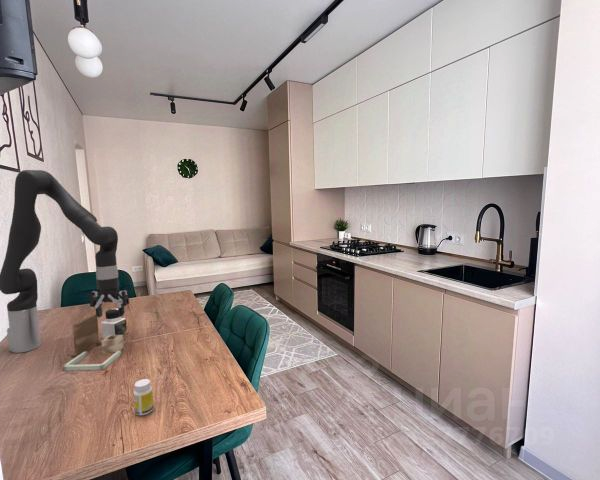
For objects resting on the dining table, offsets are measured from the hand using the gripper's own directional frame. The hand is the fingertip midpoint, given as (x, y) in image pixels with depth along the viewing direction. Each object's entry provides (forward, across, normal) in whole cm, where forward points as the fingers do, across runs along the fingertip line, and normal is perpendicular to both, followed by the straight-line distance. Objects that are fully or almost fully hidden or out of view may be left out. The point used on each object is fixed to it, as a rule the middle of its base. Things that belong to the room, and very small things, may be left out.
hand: (110, 316), depth 131 cm
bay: (+14, -2, -9) cm, 17 cm away
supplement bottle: (+15, +31, -41) cm, 53 cm away
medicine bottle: (+14, -8, +16) cm, 23 cm away
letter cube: (+14, 0, 0) cm, 14 cm away
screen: (+14, -11, +1) cm, 18 cm away
